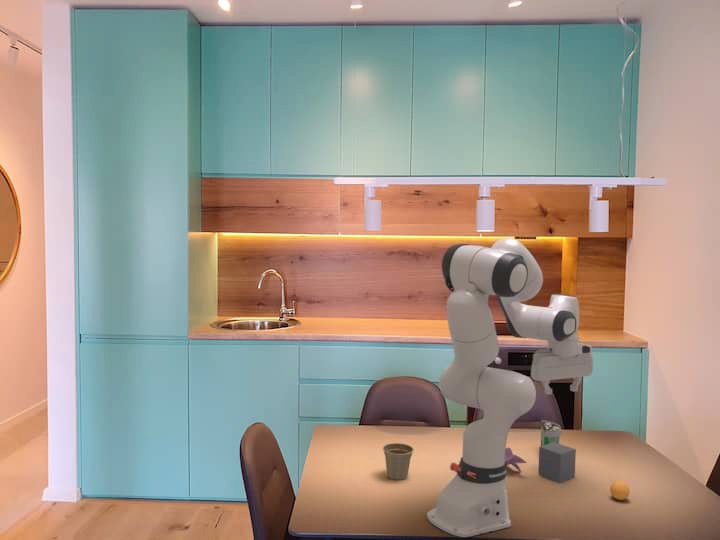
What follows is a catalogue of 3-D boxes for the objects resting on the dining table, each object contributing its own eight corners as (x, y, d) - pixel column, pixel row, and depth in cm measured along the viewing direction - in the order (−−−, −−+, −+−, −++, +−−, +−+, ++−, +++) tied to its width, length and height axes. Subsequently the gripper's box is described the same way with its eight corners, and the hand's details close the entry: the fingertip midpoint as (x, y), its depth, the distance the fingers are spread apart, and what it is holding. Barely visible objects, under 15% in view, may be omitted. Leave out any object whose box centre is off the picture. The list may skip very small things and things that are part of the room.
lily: (527, 484, 181) (535, 453, 184) (493, 470, 180) (501, 438, 183) (508, 481, 192) (516, 451, 195) (476, 467, 191) (484, 438, 194)
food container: (563, 462, 196) (564, 432, 196) (543, 460, 197) (544, 430, 197) (558, 449, 208) (559, 421, 208) (540, 447, 209) (541, 419, 209)
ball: (622, 504, 166) (623, 487, 166) (606, 498, 170) (606, 480, 170) (632, 500, 169) (633, 482, 169) (615, 493, 173) (616, 476, 173)
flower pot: (419, 476, 182) (420, 448, 182) (399, 485, 176) (400, 456, 175) (395, 467, 189) (396, 440, 188) (375, 476, 182) (376, 448, 181)
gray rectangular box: (559, 483, 180) (560, 454, 179) (538, 474, 186) (539, 446, 185) (574, 477, 184) (575, 449, 184) (553, 469, 190) (554, 442, 190)
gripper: (540, 352, 174) (539, 398, 175) (597, 347, 181) (595, 392, 182) (527, 347, 180) (525, 393, 181) (582, 342, 187) (580, 386, 188)
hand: (561, 392), depth 181 cm, fingers open, 8 cm apart
